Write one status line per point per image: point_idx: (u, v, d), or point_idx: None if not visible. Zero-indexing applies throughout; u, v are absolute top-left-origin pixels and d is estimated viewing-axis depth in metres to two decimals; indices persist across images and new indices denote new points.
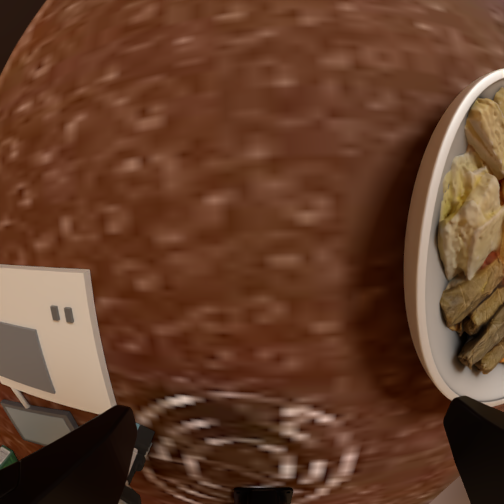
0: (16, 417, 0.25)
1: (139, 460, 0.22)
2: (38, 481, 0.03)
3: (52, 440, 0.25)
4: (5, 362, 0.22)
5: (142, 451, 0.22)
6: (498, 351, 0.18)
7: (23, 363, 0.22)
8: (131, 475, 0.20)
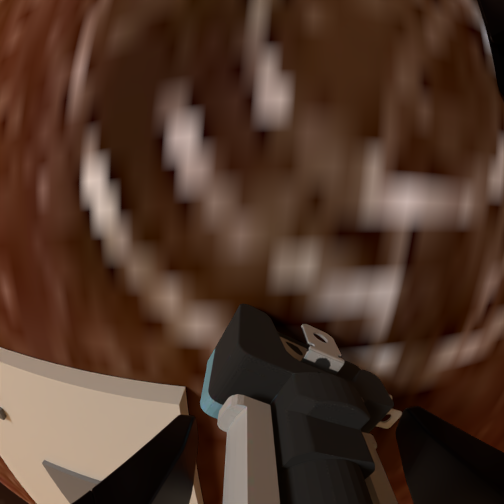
0: None
1: (293, 404, 0.06)
2: None
3: None
4: None
5: (262, 374, 0.06)
6: None
7: None
8: (321, 483, 0.04)
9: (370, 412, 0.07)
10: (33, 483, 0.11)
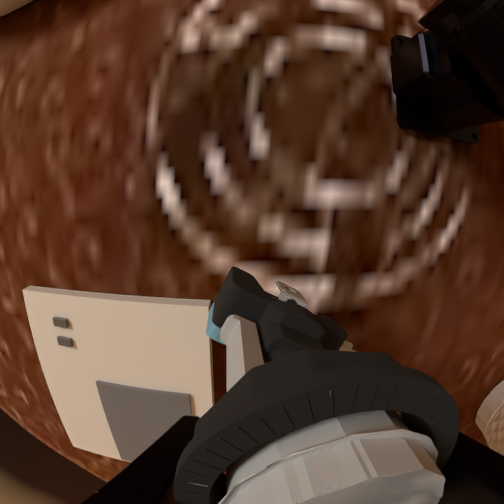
0: None
1: (270, 318, 0.09)
2: None
3: None
4: None
5: (249, 302, 0.10)
6: None
7: (154, 423, 0.19)
8: None
9: (329, 338, 0.10)
10: (76, 414, 0.20)
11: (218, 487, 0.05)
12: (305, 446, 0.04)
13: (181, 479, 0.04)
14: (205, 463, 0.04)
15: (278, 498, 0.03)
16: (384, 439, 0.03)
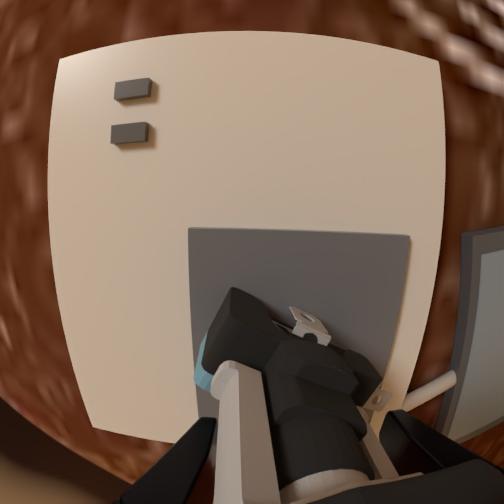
0: (472, 419, 0.12)
1: (282, 367, 0.06)
2: None
3: None
4: None
5: (252, 342, 0.07)
6: None
7: None
8: (313, 435, 0.04)
9: (359, 385, 0.07)
10: (110, 345, 0.10)
11: None
12: None
13: None
14: None
15: None
16: None
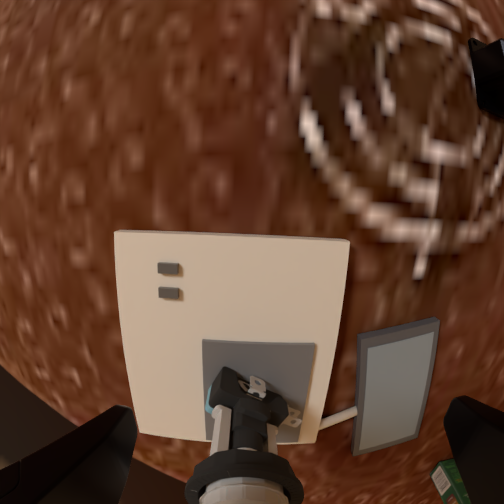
0: (377, 436, 0.21)
1: (238, 409, 0.15)
2: (38, 481, 0.03)
3: (414, 385, 0.20)
4: None
5: (228, 397, 0.16)
6: None
7: (265, 385, 0.19)
8: (243, 435, 0.14)
9: (275, 416, 0.16)
10: (158, 389, 0.19)
11: (203, 491, 0.11)
12: (228, 483, 0.10)
13: (187, 488, 0.10)
14: (196, 484, 0.10)
15: (217, 498, 0.09)
16: (256, 487, 0.10)
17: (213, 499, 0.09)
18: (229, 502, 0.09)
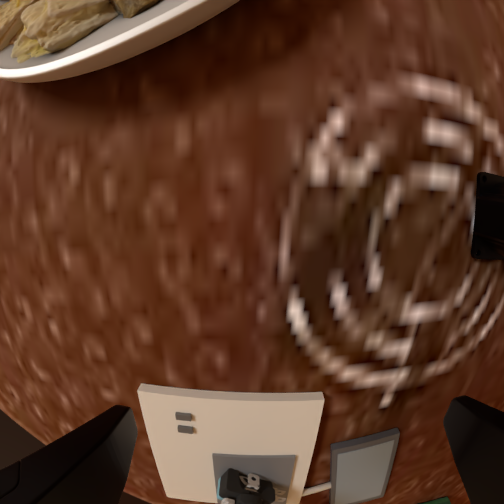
0: (349, 498, 0.24)
1: (239, 501, 0.19)
2: (38, 481, 0.03)
3: (377, 469, 0.23)
4: None
5: (232, 493, 0.19)
6: None
7: (259, 477, 0.22)
8: None
9: (266, 501, 0.20)
10: (180, 476, 0.23)
11: None
12: None
13: None
14: None
15: None
16: None
17: None
18: None
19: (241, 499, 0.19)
